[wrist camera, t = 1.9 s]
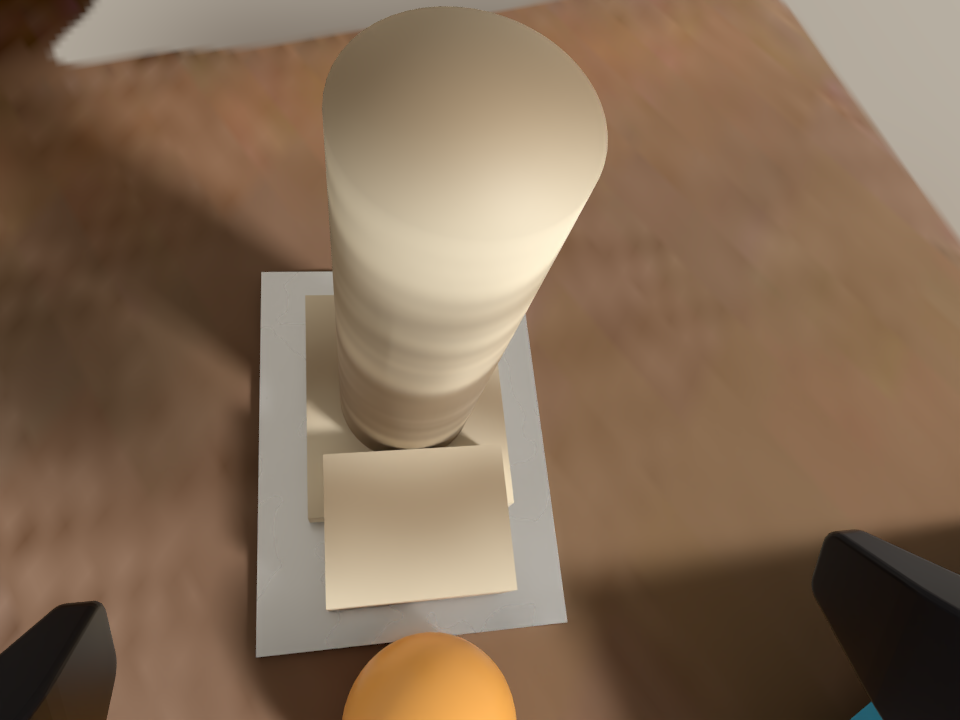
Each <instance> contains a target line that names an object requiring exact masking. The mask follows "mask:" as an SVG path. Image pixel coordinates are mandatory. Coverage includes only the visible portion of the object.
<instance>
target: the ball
mask: <svg viewBox="0 0 960 720" xmlns="http://www.w3.org/2000/svg"><path fill="white" fill-rule="evenodd" d="M342 720H516V713H515V707H514V702H513V698H512V695H511V692H510V689H509V686H508V684H507V682H506V680H505V678H504V676H503V674H502V673H501V671H500V670H499V668H498V667H497V665H496V664H495V663H494V662H493V661H492V659H491V658H490V657H489V656H488V655H487V654H485V653H484V652H483V651H482V650H481V649H480V648H478V647H477V646H475V645H474V644H472V643H471V642H469V641H467V640H465V639H463V638H461V637H458V636H454V635H451V634H446V633H441V632H425V633H417V634H413V635H409V636H406V637H404V638H401V639H399V640H396V641H395V642H393V643H391V644H389V645H388V646H386V647H385V648H384V649H382V650H381V651H380V652H378V653H377V654H376V655H375V656H374V657H373V658H372V659H371V660H370V661H369V662H368V663H367V664H366V666H365V667H364V668H363V669H362V671H361V672H360V674H359V675H358V677H357V679H356V680H355V682H354V684H353V686H352V688H351V690H350V692H349V695H348V698H347V701H346V704H345V707H344V712H343V717H342Z"/></svg>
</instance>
